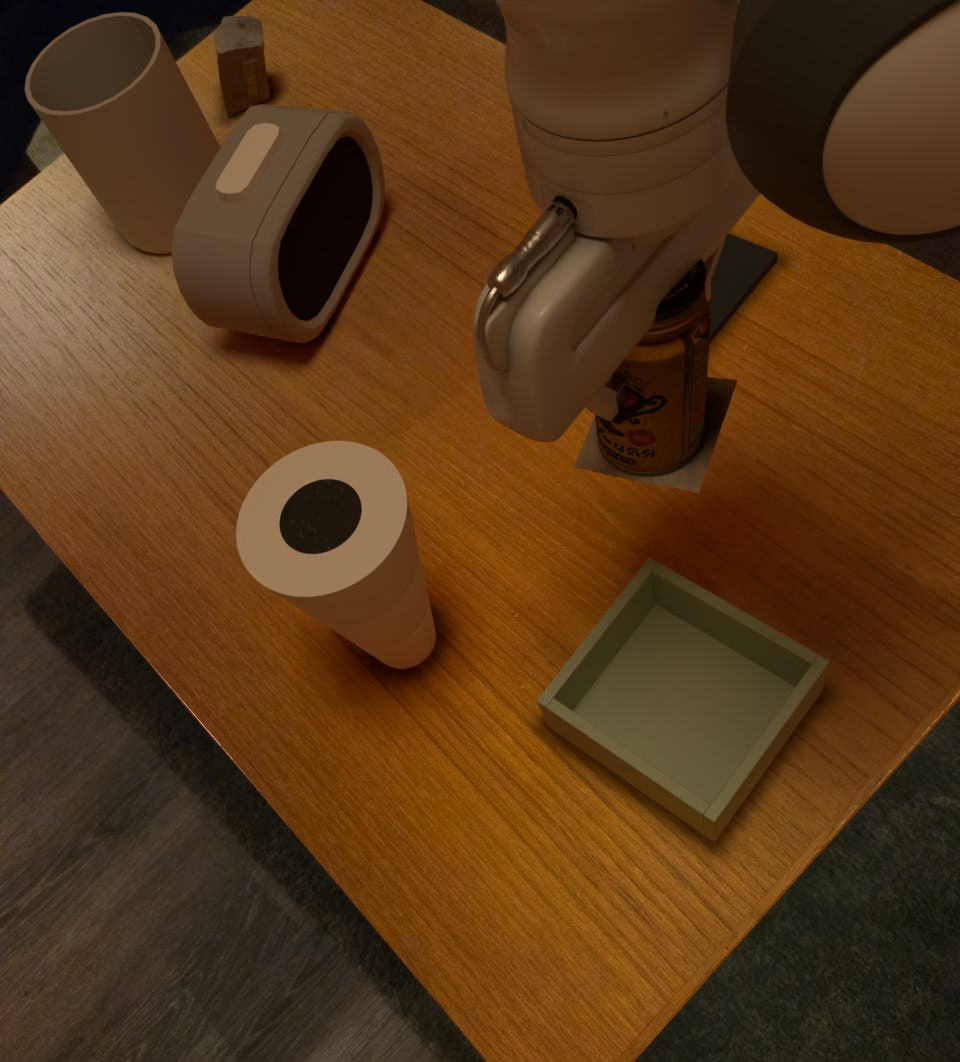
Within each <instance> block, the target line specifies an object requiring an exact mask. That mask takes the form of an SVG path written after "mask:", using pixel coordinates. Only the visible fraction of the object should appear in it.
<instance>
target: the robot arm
mask: <svg viewBox="0 0 960 1062" xmlns="http://www.w3.org/2000/svg"><path fill="white" fill-rule="evenodd" d="M494 1H495V3H496V5H497V7H498V8H499V11H500V13H501V14H502V17H503V20H504V24H505V25H504V26H505V34H506V42H505V49H504V77H505V78H504V79H505V83H506V90H507V95H508V100H509V104H510V108H511V113H512V118H513V123H514V127H515V132H516V137H517V143H518V147H519V152H520V158H521V162H522V166H523V171H524V176H525V181H526V185H527V189H528V192H529V195H530V198H531V199H532V201H533V203H534V204H535V206H536V207H537V208H538V209H539V211H540V212H541V215H540V216H539V217H538V218H537V219H536V220H535V222H533V224H532V225H531V226H530V228H529V229H528V230H527V231H526V233H525V235H524V236H523V237H522V239H521V240H520V241H519V243H518V245H517V246H516V247H515V248H514V250H512V251H511V253H510V254H507V255H505V256H504V257H503V258H502V259H501V260H500V261H499V262H498V263H497V265H496V266H495V267H494V269H493V270H492V271H491V273H490V275H489V277H488V278H487V280H486V281H487V282H486V283H485V285H484V286H483V288H482V290H481V292H480V294H479V296H478V298H477V302H476V304H475V307H474V313H473V320H472V321H473V322H472V335H473V347H474V355H475V361H476V368H477V376H478V379H479V386H480V390H481V395H482V399H483V402H484V405H485V409H486V411H487V413H488V414H489V415H490V417H491V418H492V419H493V420H495V421H496V422H497V423H499V424H501V425H502V426H504V427H505V428H506V429H509V430H510V431H512V432H514V433H516V434H518V435H520V436H522V437H524V438H526V439H528V440H531V441H534V442H538V443H554V442H557V441H558V440H559V439H561V437H562V436H563V435H564V434H565V433H566V431H567V430H568V429H569V428H570V427H571V425H572V424H573V423H574V422H575V420H577V418H578V417H579V415H580V414H581V413H582V412H583V411H584V409H586V410H587V411H589V413H591V414H593V415H594V416H595V415H597V416H599V417H601V418H603V419H605V420H607V421H611V420H613V418H614V417H615V416H616V414H617V413H618V412H619V411H620V409H621V408H622V407H623V406H624V404H625V403H626V402H627V400H628V395H627V394H626V393H627V390H628V389H627V382H626V381H624V380H622V379H620V378H618V377H616V376H614V377H612V374H613V373H614V372H615V370H616V369H617V368H618V367H619V366H620V364H621V363H622V362H623V361H624V359H625V358H626V357H627V356H628V355H629V353H630V352H631V351H632V350H633V349H634V347H635V346H636V345H637V344H638V342H639V341H640V340H641V339H642V338H643V336H644V335H645V334H646V333H647V331H648V330H649V329H650V328H651V327H652V325H653V322H654V319H655V316H656V310H657V307H658V305H659V304H660V301H661V300H662V299H663V298H664V297H665V296H666V295H667V294H668V293H669V292H670V291H671V290H672V289H673V288H675V287H676V286H677V284H678V283H679V282H680V281H681V280H682V279H683V278H684V277H685V276H686V275H687V273H688V272H689V271H690V270H691V269H692V267H693V266H694V265H695V264H696V263H697V262H698V261H699V260H701V259H702V260H703V262H704V266H705V267H706V269H707V272H706V282H705V293H706V299H707V301H709V300H710V298H711V277H712V276H713V273H714V270H715V267H716V265H717V262H718V259H719V256H720V253H721V251H722V248H723V245H724V242H725V239H726V235H727V234H728V233H729V234H730V232H731V230H733V228H734V227H735V225H736V224H738V222H739V221H740V220H741V218H742V217H743V216H744V215H745V213H746V212H747V211H748V210H749V208H750V207H751V206H752V205H753V204H754V203H755V201H756V200H758V198H759V197H760V195H761V196H763V198H765V199H766V200H767V201H769V202H770V203H772V204H773V205H774V206H775V207H777V208H778V209H779V210H782V212H783V213H785V214H787V215H788V216H790V217H792V218H793V219H795V220H797V221H799V222H800V223H803V224H804V225H807V226H808V227H811V228H813V229H816V230H817V231H821V232H824V233H826V234H829V235H832V236H836V237H839V238H843V239H847V240H851V241H857V242H862V243H869V244H878V245H879V244H882V245H903V244H905V245H906V244H916V243H925V242H930V241H935V240H939V239H944V238H947V237H952V236H955V235H958V234H960V0H494Z"/></svg>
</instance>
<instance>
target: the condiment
mask: <svg viewBox="0 0 960 1062" xmlns="http://www.w3.org/2000/svg"><path fill="white" fill-rule="evenodd" d="M706 272H707V269H706V267H705V266H704V262H703V260H702V259H701V260H699V261H698V262H697V263H696V264H695V265H694V266H693V267H692V269H691V270H690V271H689V272H688V273H687V275H686V276H685V277H684V278H683V279H682V280H681V281H680V282H679V283H678V284H677V286H676V287H675V288H673V289H672V290H671V291H670V292H669V293H668V294H667V295H666V296H665V297H664V298H663V299H662V300H661V301H660V304H659V305H658V307H657V310H656V316H655V319H654V322H653V325H652V327H651V328H650V329H649V330H648V331H647V333H646V334H645V335H644V336H643V338H642V339H641V340H640V341H639V342H638V344H637V345H636V346H635V347H634V349H633V350H632V351H631V352H630V353H629V355H628V356H627V357H626V358H625V359H624V361H623V362H622V363H621V364H620V366H619V367H618V368H617V369H616V370H615V372H614V373H613V374H612V377H614V376H616V377H618V378H620V379H622V380H624V381H626V382H627V389H628V390H627V393H626V394H627V395H628V400H627V402H626V403H625V404H624V406H623V407H622V408H621V409H620V411H619V412H618V413H617V414H616V416H615V417H614V418H613V420H611V421H607V420H605V419H603V418H601V417H599V416H597V415H595V414H594V417H593V420H592V422H591V424H590V426H589V429H588V431H587V434H586V436H585V438H584V441H583V443H582V445H581V448H580V450H579V453H578V455H577V457H576V460H575V462H574V463H573V466H572V467H573V468H575V469H580V470H584V471H590V472H592V473H598V474H602V475H605V476H609V477H614V478H619V479H623V480H628V481H633V482H639V483H642V484H649V485H652V486H653V485H654V486H659V487H665V488H673V489H677V490H683V491H687V492H692V493H696V494H699V493H700V490H701V488H702V485H703V482H704V479H705V477H706V474H707V471H708V468H709V465H710V462H711V460H712V457H713V453H714V451H715V447H716V445H717V442H718V438H719V435H720V433H721V430H722V426H723V425H724V421H725V419H726V415H727V413H728V411H729V407H730V404H731V402H732V398H733V394H734V392H735V389H736V386H737V384H738V379H732V378H725V377H723V378H718V377H713V376H708V367H709V357H710V354H709V352H710V343H711V342H710V330H711V311H710V307H709V304H708V301H707V299H706V293H705V282H706ZM709 342H710V343H709Z"/></svg>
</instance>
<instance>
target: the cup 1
mask: <svg viewBox="0 0 960 1062" xmlns="http://www.w3.org/2000/svg"><path fill="white" fill-rule="evenodd" d="M24 92H25V97H26V99H27V102H28V103H29V105H30V106H31V107H32V109H33V110H34V112H35V113H36V114H37V116H38V118H39V119H40V121H42V123H43V124H44V126H45V127H46V128H47V131H48V132H49V134H51V137H52V138H53V139H54V140H55V142H56V143H57V145H58V146H59V147H60V149H61V150H62V152H63V154H64V155H66V158H67V159H68V161H69V162H70V163H71V165H72V166H73V168H74V169H75V170H76V173H77V174H78V176H80V178H81V179H82V181H83V182H84V184H85V185H86V186H87V188H88V189H89V190H90V193H92V195H93V197H94V198H95V199H96V201H97V202H98V204H99V205H100V206H101V208H102V209H103V211H104V212H105V214H106V215H107V217H108V218H109V219H110V221H111V222H112V224H113V225H114V227H115V228H116V229H117V230H118V232H119V233H120V234H121V236H122V237H123V238H124V239H125V240H126V241H127V242H128V243H129V244H130V245H131V246H133V247H135V248H137V249H139V250H141V251H143V252H147V253H151V254H157V255H158V254H159V255H162V254H164V255H165V254H172V244H173V235H174V229H175V227H176V225H177V223H178V221H179V219H180V216H181V214H182V212H183V210H184V208H185V206H186V204H187V202H188V200H189V198H190V196H191V195H192V193H193V192H194V190H195V188H196V187H197V185H198V184H199V182H200V180H201V179H202V177H203V175H204V174H205V172H206V171H207V169H208V167H209V166H210V164H211V163H212V161H213V159H214V158H215V156H216V155H217V153H218V151H219V150H220V148H221V145H220V144H219V141H218V139H217V137H216V135H215V134H214V132H213V130H212V128H211V127H210V124H209V123H208V121H207V120H208V119H207V118H206V117H205V115H204V113H203V111H202V109H201V107H200V105H199V104H198V100H197V99H196V98H195V96H194V94H193V92H192V90H191V88H190V86H189V84H188V82H187V80H186V79H185V77H184V75H183V72H182V71H181V69H180V67H179V65H178V63H177V61H176V60H175V58H174V56H173V54H172V52H171V50H170V48H169V46H168V45H167V42H166V41H165V39H164V37H163V34H162V33H161V31H160V29H159V27H158V25H157V24H156V23H155V22H154V21H153V20H151V19H150V18H149V17H148V16H145V15H142V14H139V13H137V12H128V11H127V12H124V11H119V12H112V13H104V14H100V15H98V16H95V17H92V18H89V19H86V20H83V21H81V22H80V23H78V24H76V25H74V26H71V27H69V28H68V29H67V30H65V31H64V32H62V33H61V34H59V35H58V36H56V37H55V38H54V39H53V40H52V41H51V42H50V43H48V45H47V46H45V48H44V47H43V49H42V50H41V51H40V52H39V54H38V55H37V56H36V58H35V59H34V61H32V63H31V65H30V67H29V70H28V72H27V74H26V76H25V84H24Z"/></svg>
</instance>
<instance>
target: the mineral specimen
mask: <svg viewBox="0 0 960 1062" xmlns="http://www.w3.org/2000/svg"><path fill="white" fill-rule="evenodd" d="M220 21H221V23H220V24H219V25H218V26H217V28H215V29H214V33H213V37H214V45H215V54H216V64H217V72H218V79H219V85H220V87H221V94H222V98H223V99H222V100H223V105H224V108H225V113H226V116H227V117H231V116H233V115H235V114H237V113H239V112H242V111H245V110H248V109H249V108H250V106H255V105H259V104H263V102H266V101H268V100H270V97H271V96H270V95H271V94H270V88H269V80H268V73H267V66H266V56H265V55H266V54H265V36H264V30H263V22H262V20H261V19H260V18H257V17H253V16H251V15H227V16H223V17H222V19H221V20H220Z"/></svg>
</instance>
